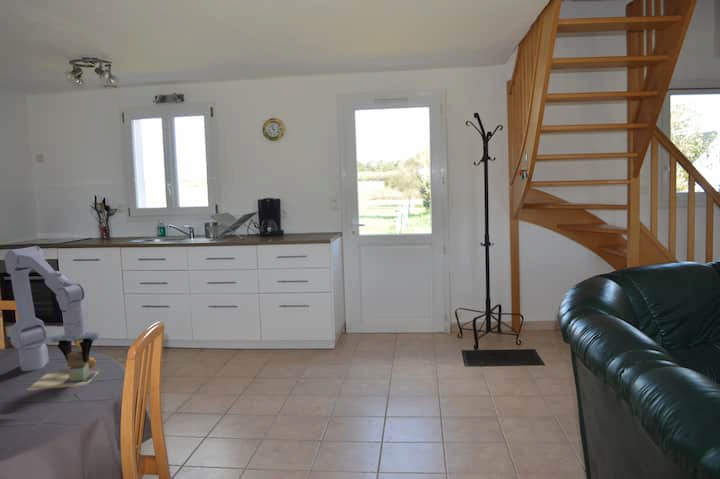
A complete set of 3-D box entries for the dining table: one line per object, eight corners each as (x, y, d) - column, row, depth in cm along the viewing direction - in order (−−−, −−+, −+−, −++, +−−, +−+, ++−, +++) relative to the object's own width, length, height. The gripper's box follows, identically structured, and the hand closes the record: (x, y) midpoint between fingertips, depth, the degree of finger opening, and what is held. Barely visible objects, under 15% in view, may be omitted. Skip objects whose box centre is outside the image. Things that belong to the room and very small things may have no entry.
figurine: (95, 371, 187) (91, 337, 185) (76, 374, 184) (72, 340, 183) (96, 363, 194) (93, 331, 192) (78, 366, 192) (74, 334, 190)
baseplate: (47, 376, 183) (46, 373, 183) (102, 372, 185) (102, 368, 185) (26, 393, 169) (26, 389, 169) (86, 389, 171) (85, 385, 171)
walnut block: (73, 362, 179) (72, 350, 178) (88, 360, 179) (86, 349, 179) (68, 366, 174) (66, 355, 174) (82, 365, 175) (81, 354, 174)
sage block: (75, 375, 179) (74, 364, 179) (89, 374, 180) (88, 363, 179) (69, 381, 175) (68, 369, 174) (84, 380, 175) (82, 368, 175)
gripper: (44, 327, 170) (49, 368, 172) (91, 323, 172) (96, 364, 173) (54, 320, 177) (59, 360, 179) (100, 317, 179) (104, 356, 180)
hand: (78, 361), depth 177 cm, fingers closed on walnut block, 4 cm apart
